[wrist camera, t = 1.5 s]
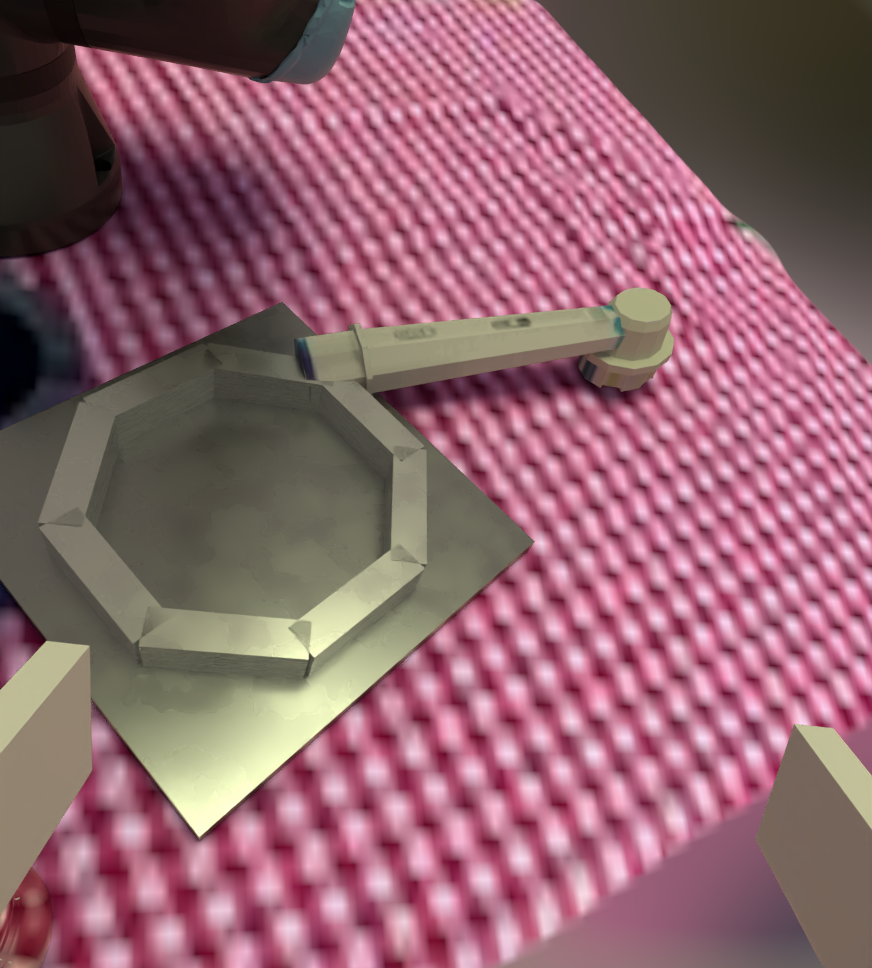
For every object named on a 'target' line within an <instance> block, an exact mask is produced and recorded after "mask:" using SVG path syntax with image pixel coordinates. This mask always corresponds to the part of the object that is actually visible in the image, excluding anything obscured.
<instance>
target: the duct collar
mask: <svg viewBox="0 0 872 968" xmlns="http://www.w3.org/2000/svg"><path fill="white" fill-rule="evenodd" d="M310 336H317V335H316V334H315V333H314V332H313V331H312V330H311V329H310V328H309V327H308V326H307V325H306V324H305V323H304V322H303V321H302V320H301V319H300V318H298V317H297V316H296V315H295V314H294V313H293V312H292V311H291V310H290V309H289V308H288V307H287V306H286V305H285V304H284V303H283V302H281V303H279V304H277V305H275V306H273V307H270V308H268V309H266V310H264V311H262V312H259V313H257V314H255V315H253V316H251V317H248V318H246V319H244V320H242V321H240V322H237V323H235V324H233V325H231V326H229V327H226V328H224V329H222V330H220V331H218V332H215V333H213V334H211V335H209V336H207V337H204V338H202V339H200V340H198V341H196V342H194V343H191V344H189V345H187V346H185V347H183V348H180V349H178V350H176V351H174V352H172V353H169V354H167V355H165V356H163V357H161V358H158V359H156V360H154V361H152V362H150V363H147V364H145V365H143V366H141V367H139V368H136V369H134V370H132V371H130V372H128V373H125V374H123V375H121V376H119V377H117V378H114V379H112V380H110V381H108V382H106V383H103V384H101V385H99V386H97V387H95V388H92V389H90V390H88V391H86V392H84V393H81V394H79V395H77V396H75V397H73V398H70V399H68V400H66V401H64V402H62V403H59V404H57V405H55V406H53V407H51V408H48V409H46V410H44V411H42V412H40V413H37V414H35V415H33V416H31V417H29V418H26V419H24V420H22V421H20V422H18V423H15V424H13V425H11V426H9V427H7V428H4V429H2V430H0V583H1V584H2V585H3V587H4V588H5V589H6V591H7V592H8V593H9V594H10V596H11V597H12V598H13V600H14V601H15V602H16V604H17V605H18V606H19V607H20V609H21V610H22V611H23V613H24V614H25V615H26V617H27V618H28V619H29V620H30V622H31V623H32V624H33V626H34V627H35V628H36V630H37V631H38V632H39V633H40V635H41V636H42V637H43V639H44V640H45V641H52V642H61V643H70V644H79V645H88V646H90V686H91V701H92V702H93V704H94V705H95V706H96V707H97V709H98V710H99V711H100V713H101V714H102V715H103V717H104V718H105V719H106V720H107V722H108V723H109V724H110V726H111V727H112V728H113V730H114V731H115V732H116V733H117V735H118V736H119V737H120V739H121V740H122V741H123V743H124V744H125V745H126V746H127V748H128V749H129V750H130V752H131V753H132V754H133V756H134V757H135V758H136V759H137V761H138V762H139V763H140V765H141V766H142V767H143V769H144V770H145V771H146V772H147V774H148V775H149V776H150V778H151V779H152V780H153V782H154V783H155V784H156V785H157V787H158V788H159V789H160V791H161V792H162V793H163V794H164V796H165V797H166V798H167V800H168V801H169V802H170V804H171V805H172V806H173V807H174V809H175V810H176V811H177V813H178V814H179V815H180V817H181V818H182V819H183V820H184V822H185V823H186V824H187V826H188V827H189V828H190V830H191V831H192V832H193V833H194V835H195V836H196V837H197V839H198V840H199V841H201V840H202V839H203V838H204V837H205V836H206V835H207V834H209V833H210V832H211V831H212V830H213V829H214V828H215V827H217V826H218V825H219V824H220V823H221V822H222V821H223V820H224V819H226V818H227V817H228V816H229V815H230V814H231V813H232V812H233V811H235V810H236V809H237V808H238V807H239V806H240V805H241V804H242V803H244V802H245V801H246V800H247V799H248V798H249V797H250V796H252V795H253V794H254V793H255V792H256V791H257V790H258V789H259V788H261V787H262V786H263V785H264V784H265V783H266V782H267V781H268V780H270V779H271V778H272V777H273V776H274V775H275V774H276V773H277V772H279V771H280V770H281V769H282V768H283V767H284V766H285V765H287V764H288V763H289V762H290V761H291V760H292V759H293V758H294V757H296V756H297V755H298V754H299V753H300V752H301V751H302V750H303V749H305V748H306V747H307V746H308V745H309V744H310V743H311V742H313V741H314V740H315V739H316V738H317V737H318V736H319V735H320V734H322V733H323V732H324V731H325V730H326V729H327V728H328V727H329V726H331V725H332V724H333V723H334V722H335V721H336V720H337V719H338V718H340V717H341V716H342V715H343V714H344V713H345V712H346V711H348V710H349V709H350V708H351V707H352V706H353V705H354V704H355V703H357V702H358V701H359V700H360V699H361V698H362V697H363V696H364V695H366V694H367V693H368V692H369V691H370V690H371V689H372V688H373V687H375V686H376V685H377V684H378V683H379V682H380V681H381V680H383V679H384V678H385V677H386V676H387V675H388V674H389V673H390V672H392V671H393V670H394V669H395V668H396V667H397V666H398V665H399V664H401V663H402V662H403V661H404V660H405V659H406V658H407V657H408V656H410V655H411V654H412V653H413V652H414V651H415V650H416V649H418V648H419V647H420V646H421V645H422V644H423V643H424V642H425V641H427V640H428V639H429V638H430V637H431V636H432V635H433V634H434V633H436V632H437V631H438V630H439V629H440V628H441V627H442V626H444V625H445V624H446V623H447V622H448V621H449V620H450V619H451V618H453V617H454V616H455V615H456V614H457V613H458V612H459V611H460V610H462V609H463V608H464V607H465V606H466V605H467V604H468V603H469V602H471V601H472V600H473V599H474V598H475V597H476V596H477V595H479V594H480V593H481V592H482V591H483V590H484V589H485V588H486V587H488V586H489V585H490V584H491V583H492V582H493V581H494V580H495V579H497V578H498V577H499V576H500V575H501V574H502V573H503V572H504V571H506V570H507V569H508V568H509V567H510V566H511V565H512V564H514V563H515V562H516V561H517V560H518V559H519V558H520V557H521V556H523V555H524V554H525V553H526V552H527V551H528V550H529V549H530V547H531V546H532V545H533V543H534V542H535V541H533V540H532V539H531V538H530V537H529V536H528V535H527V534H526V533H525V532H524V531H523V530H522V529H521V528H520V527H519V526H518V525H517V524H516V523H515V522H513V521H512V520H511V519H510V518H509V517H508V516H507V515H506V514H505V513H504V512H503V511H502V510H501V509H500V508H499V507H498V506H497V505H496V504H495V503H493V502H492V501H491V500H490V499H489V498H488V497H487V496H486V495H485V494H484V493H483V492H482V491H481V490H480V489H479V488H478V487H477V486H476V485H474V484H473V483H472V482H471V481H470V480H469V479H468V478H467V477H466V476H465V475H464V474H463V473H462V472H461V471H460V470H459V469H458V468H457V467H456V466H454V465H453V464H452V463H451V462H450V461H449V460H448V459H447V458H446V457H445V456H444V455H443V454H442V453H441V452H440V451H439V450H438V449H437V448H435V447H434V446H433V445H432V444H431V443H430V442H429V441H428V440H427V439H426V438H425V437H424V436H423V435H422V434H421V433H420V432H419V431H418V430H417V429H415V428H414V427H413V426H412V425H411V424H410V423H409V422H408V421H407V420H406V419H405V418H404V417H403V416H402V415H401V414H400V413H399V412H398V411H396V410H395V409H394V408H393V407H392V406H391V405H390V404H389V403H388V402H387V401H386V400H385V399H384V398H383V397H382V396H381V395H380V394H379V393H378V392H376V393H372V395H371V394H369V393H368V392H367V391H366V390H365V389H364V388H363V387H362V386H361V385H360V384H359V383H358V382H357V381H356V380H350V381H315V380H306V379H305V375H304V371H303V368H302V364H301V361H300V357H296V356H295V350H294V339H296V338H303V337H310ZM307 385H310V386H311V404H308V396H307Z"/></svg>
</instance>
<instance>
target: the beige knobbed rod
mask: <svg viewBox="0 0 872 968" xmlns="http://www.w3.org/2000/svg"><path fill="white" fill-rule="evenodd" d="M671 315H672V310H671V305H670V303H669V302H668V300H667V299H666V297H665V296H664V295H662V294H660V293H658V292H656V291H655V290H651V289H645V288H640V287H639V288H632V289H626V290H625V291H623V292H622V293H620V294H619V295H617V296H616V297H615V298H614V299H612V300H611V301H610V302H609V304H608V306H599V307H589V308H578V309H568V310H557V311H547V312H536V313H526V314H515V315H505V316H494V317H484V318H473V319H463V320H452V321H442V322H432V323H421V324H411V325H400V326H390V327H379V328H369V329H362V328H361V326H360V323H359V324H351V325H349V331H344V332H337V333H330V334H323V335H317V336H310V337H303V338H296V339H294V350H295V356H296V357H300V361H301V364H302V368H303V371H304V375H305V379H306V380H315V381H350V380H356V381H357V382H358V383H359V384H360V385H361V386H362V387H363V388H364V389H365V390H366V391H367V392H368V393H369V394H371V395H372V393H376V392H381V391H387V390H392V389H398V388H403V387H409V386H414V385H420V384H425V383H431V382H436V381H442V380H447V379H453V378H458V377H464V376H469V375H475V374H480V373H486V372H491V371H497V370H502V369H508V368H513V367H519V366H524V365H530V364H535V363H541V362H546V361H552V360H557V359H563V358H568V357H573V356H579V355H580V358H579V362H578V367H579V369H580V371H581V373H582V375H583V376H584V378H585V379H586V380H588V381H590V382H591V383H593V384H595V385H596V386H598V387H599V388H601V387H602V385H605V386H611V387H617V388H619V389H620V391H621V392H622V391H628V390H633V389H638V388H640V387H641V385H642V384H643V383H645V382H646V381H647V380H648V379H650V378H653V376H654V374H655V372H656V370H657V369H658V368H659V367H661V366H662V365H663V364H664V363H666V362H667V361H668V360H669V358H670V356H671V354H672V349H673V343H674V338H673V336H672V335H671V333H670V331H669V330H668V327H669V324H670V320H671ZM307 396H308V404H311V386H310V385H307Z"/></svg>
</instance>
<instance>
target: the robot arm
mask: <svg viewBox="0 0 872 968" xmlns="http://www.w3.org/2000/svg"><path fill="white" fill-rule="evenodd" d="M354 8H355V0H0V256H17V255H27V254H33V253H39V252H44V251H48V250H52V249H56V248H59V247H62V246H65V245H68V244H70V243H73V242H75V241H77V240H80V239H82V238H83V237H85V236H87V235H89V234H91V233H92V232H94V231H95V230H97V229H98V228H99V227H100V226H102V225H103V224H104V223H105V222H106V221H107V220H108V219H109V218H110V217H111V216H112V214H113V213H114V211H115V210H116V208H117V206H118V204H119V202H120V199H121V195H122V177H121V168H120V160H119V154H118V150H117V147H116V144H115V141H114V139H113V137H112V135H111V133H110V131H109V129H108V127H107V125H106V122H105V120H104V118H103V116H102V114H101V112H100V110H99V108H98V106H97V104H96V102H95V100H94V98H93V96H92V94H91V92H90V90H89V88H88V86H87V84H86V81H85V79H84V77H83V75H82V73H81V71H80V69H79V67H78V64H77V60H76V54H75V47H74V45H78V46H83V47H89V48H94V49H100V50H105V51H111V52H116V53H122V54H127V55H133V56H138V57H144V58H149V59H155V60H160V61H165V62H171V63H176V64H182V65H187V66H193V67H198V68H203V69H208V70H213V71H218V72H223V73H228V74H233V75H238V76H243V77H248V78H249V79H250V80H252V81H256V82H259V83H270V82H272V81H279V82H287V83H295V84H311V83H314V82H317V81H319V80H320V79H322V78H323V77H325V76H326V75H327V74H328V73H329V71H330V70H331V69H332V67H333V66H334V64H335V62H336V61H337V59H338V57H339V55H340V52H341V50H342V47H343V45H344V42H345V39H346V36H347V33H348V30H349V27H350V24H351V20H352V16H353V12H354ZM91 771H92V739H91V686H90V646H88V645H79V644H70V643H61V642H52V641H46V642H45V643H44V644H43V645H42V646H41V647H40V649H39V650H38V651H37V652H36V653H35V654H34V655H33V656H32V657H31V658H30V659H29V660H28V661H27V662H26V663H25V664H24V665H23V667H22V668H21V669H20V670H19V671H18V672H17V673H16V674H15V675H14V676H13V677H12V678H11V679H10V680H9V681H8V682H7V683H6V685H5V686H4V687H3V688H2V689H1V690H0V915H1V914H2V912H3V911H4V909H5V907H6V906H7V904H8V903H9V901H10V900H11V898H12V896H13V895H14V893H15V892H16V890H17V889H18V887H19V885H20V884H21V882H22V881H23V879H24V877H25V876H26V874H27V873H28V871H29V870H30V868H31V866H32V865H33V863H34V862H35V860H36V858H37V857H38V855H39V854H40V852H41V851H42V849H43V847H44V846H45V844H46V843H47V841H48V839H49V838H50V836H51V835H52V833H53V832H54V830H55V828H56V827H57V825H58V824H59V822H60V820H61V819H62V817H63V816H64V814H65V813H66V811H67V809H68V808H69V806H70V805H71V803H72V801H73V800H74V798H75V797H76V795H77V794H78V792H79V790H80V789H81V787H82V786H83V784H84V783H85V781H86V779H87V778H88V776H89V775H90V773H91ZM755 840H756V842H757V843H758V845H759V847H760V849H761V851H762V853H763V855H764V857H765V858H766V860H767V862H768V864H769V866H770V868H771V870H772V872H773V874H774V876H775V877H776V879H777V881H778V883H779V885H780V887H781V889H782V890H783V892H784V894H785V896H786V898H787V900H788V902H789V904H790V906H791V907H792V909H793V911H794V913H795V915H796V917H797V918H798V921H799V922H800V924H801V926H802V928H803V930H804V932H805V934H806V936H807V937H808V939H809V941H810V943H811V945H812V947H813V949H814V951H815V952H816V954H817V956H818V958H819V960H820V962H821V964H822V966H823V968H872V776H871V774H870V773H869V772H868V771H867V769H866V768H865V767H864V766H863V764H862V763H861V762H860V761H859V760H858V758H857V757H856V756H855V755H854V753H853V752H852V751H851V750H850V748H849V747H848V746H847V745H846V743H845V742H844V741H843V740H842V738H841V737H840V736H839V735H838V733H837V732H836V731H835V730H834V729H833V728H825V727H816V726H807V725H798V724H794V726H793V729H792V732H791V735H790V738H789V741H788V744H787V747H786V750H785V753H784V756H783V759H782V762H781V764H780V767H779V770H778V773H777V776H776V779H775V782H774V785H773V788H772V791H771V794H770V797H769V800H768V803H767V806H766V809H765V812H764V815H763V818H762V821H761V824H760V826H759V829H758V832H757V835H756V839H755Z"/></svg>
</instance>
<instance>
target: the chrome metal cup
mask: <svg viewBox="0 0 872 968" xmlns="http://www.w3.org/2000/svg"><path fill="white" fill-rule="evenodd" d="M51 931H52V905H51V900H50V896H49V893H48V890H47V888H46V886H45V884H44V882H43V880H42V879H41V877H40V876H39V874H38V873H37V872H36V871H35V869H34V868H33V867H32V866H31V868H30V870H29V871H28V873H27V874H26V876H25V877H24V879H23V881H22V882H21V884H20V885H19V887H18V889H17V890H16V892H15V893H14V895H13V896H12V898H11V900H10V901H9V903H8V904H7V906H6V907H5V909H4V911H3V912H2V914H1V915H0V968H40V967H41V965H42V963H43V961H44V958H45V955H46V952H47V949H48V946H49V942H50V937H51Z"/></svg>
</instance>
